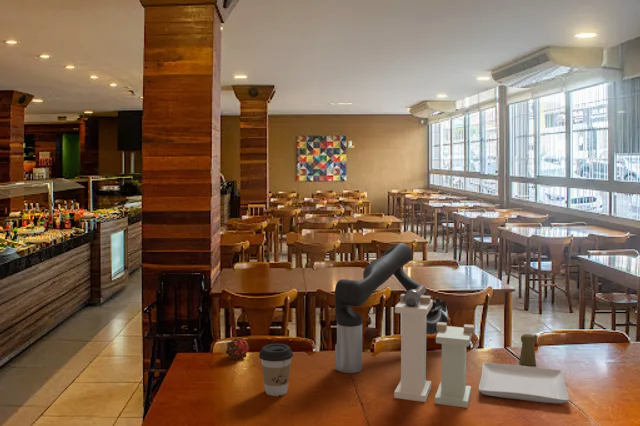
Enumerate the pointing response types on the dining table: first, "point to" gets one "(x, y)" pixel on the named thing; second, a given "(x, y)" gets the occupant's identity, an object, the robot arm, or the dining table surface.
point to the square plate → (523, 383)
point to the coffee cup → (276, 368)
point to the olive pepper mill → (527, 350)
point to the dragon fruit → (237, 348)
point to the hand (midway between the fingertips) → (425, 299)
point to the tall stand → (413, 350)
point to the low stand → (453, 364)
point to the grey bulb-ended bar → (414, 296)
